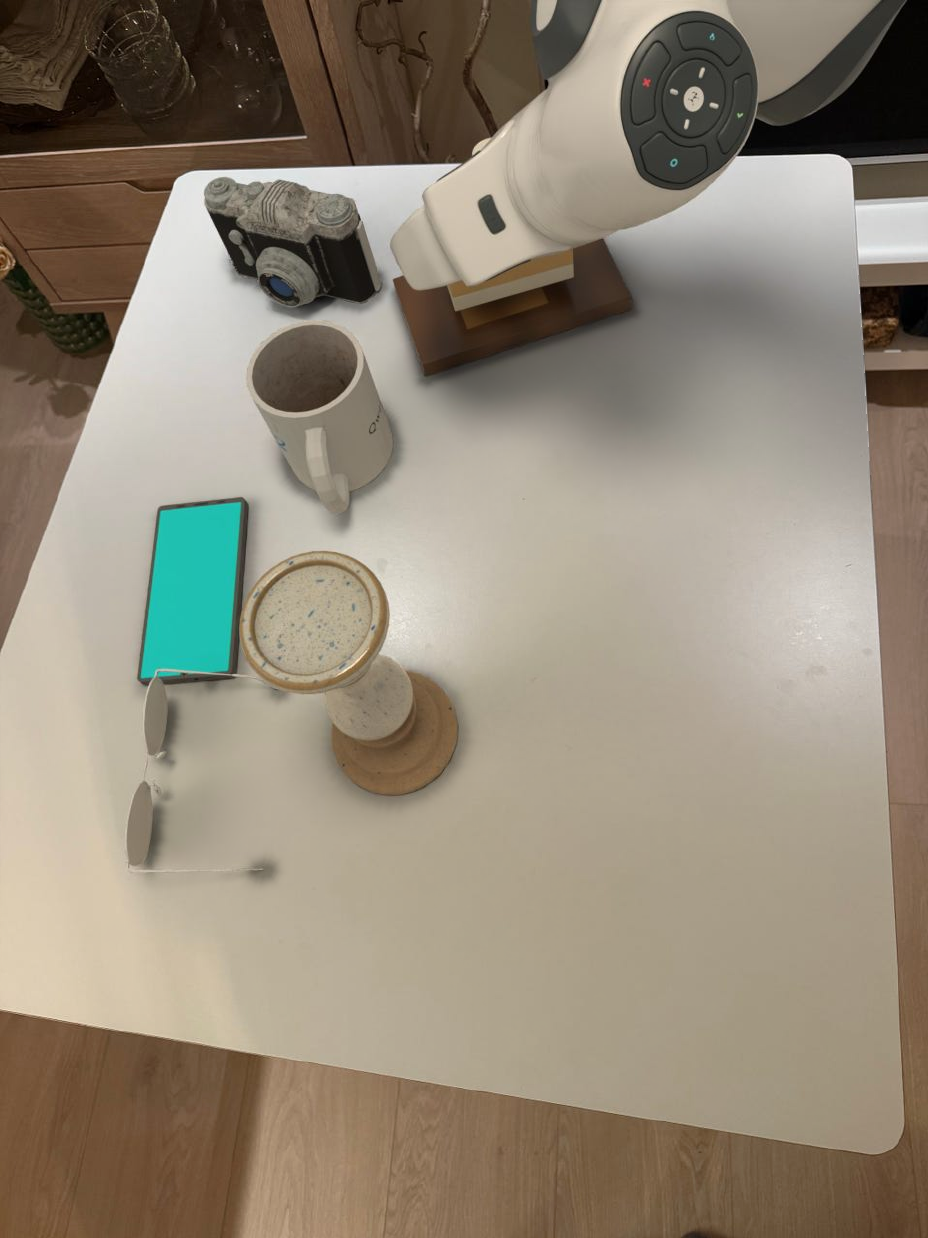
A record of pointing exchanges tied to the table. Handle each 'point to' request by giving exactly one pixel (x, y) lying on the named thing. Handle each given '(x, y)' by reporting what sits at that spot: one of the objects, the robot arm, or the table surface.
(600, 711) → the table surface
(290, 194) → the camera
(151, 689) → the sunglasses
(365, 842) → the table surface
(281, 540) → the table surface
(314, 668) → the candle holder
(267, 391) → the mug
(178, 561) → the smartphone
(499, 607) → the table surface
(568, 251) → the pillar on tan base
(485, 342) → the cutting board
